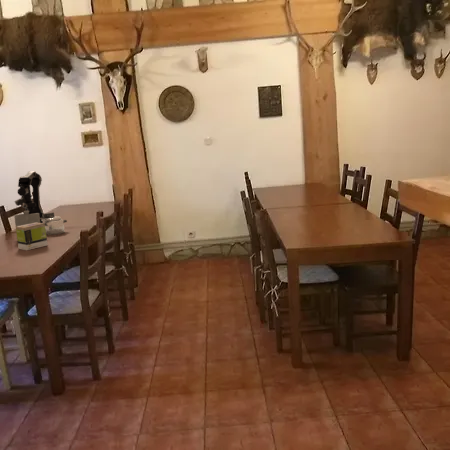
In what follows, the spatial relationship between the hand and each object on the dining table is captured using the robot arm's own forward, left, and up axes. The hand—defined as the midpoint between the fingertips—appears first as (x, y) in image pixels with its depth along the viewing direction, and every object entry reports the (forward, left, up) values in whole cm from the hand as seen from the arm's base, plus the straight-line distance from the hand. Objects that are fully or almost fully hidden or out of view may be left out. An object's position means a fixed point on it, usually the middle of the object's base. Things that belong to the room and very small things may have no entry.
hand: (29, 215), depth 377 cm
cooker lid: (+8, +13, -4) cm, 16 cm away
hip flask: (+22, -8, -13) cm, 27 cm away
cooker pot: (+13, +13, -13) cm, 23 cm away
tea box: (+48, -14, -13) cm, 52 cm away
